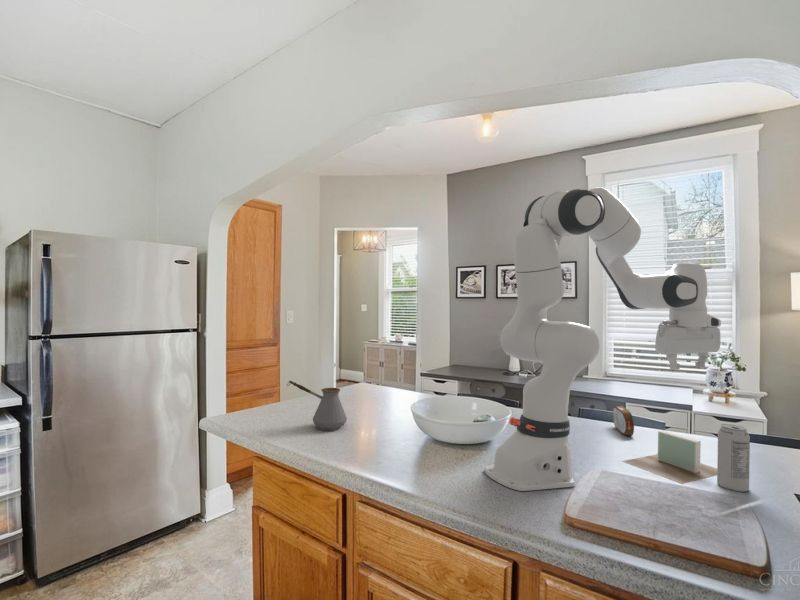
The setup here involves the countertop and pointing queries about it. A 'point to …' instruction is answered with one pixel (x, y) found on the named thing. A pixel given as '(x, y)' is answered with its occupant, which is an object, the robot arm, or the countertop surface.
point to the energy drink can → (733, 458)
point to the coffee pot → (327, 409)
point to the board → (671, 469)
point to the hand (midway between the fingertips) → (687, 369)
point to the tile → (679, 451)
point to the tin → (623, 420)
